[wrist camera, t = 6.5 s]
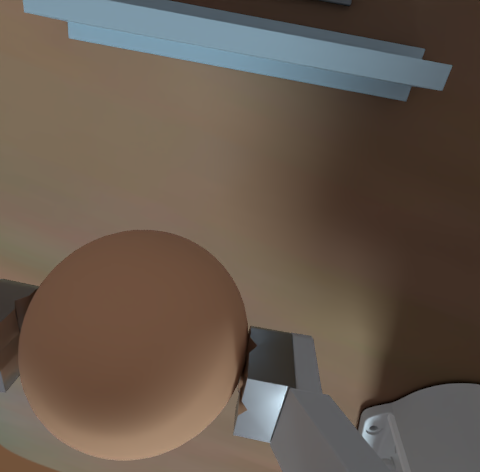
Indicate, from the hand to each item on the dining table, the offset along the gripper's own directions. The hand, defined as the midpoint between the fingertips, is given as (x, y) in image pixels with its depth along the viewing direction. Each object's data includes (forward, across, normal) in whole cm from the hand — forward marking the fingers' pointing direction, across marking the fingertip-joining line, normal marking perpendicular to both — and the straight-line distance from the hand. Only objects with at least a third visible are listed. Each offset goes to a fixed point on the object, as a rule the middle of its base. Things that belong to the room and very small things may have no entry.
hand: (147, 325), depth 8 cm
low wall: (+18, 0, -7) cm, 20 cm away
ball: (0, 0, 0) cm, 0 cm away
